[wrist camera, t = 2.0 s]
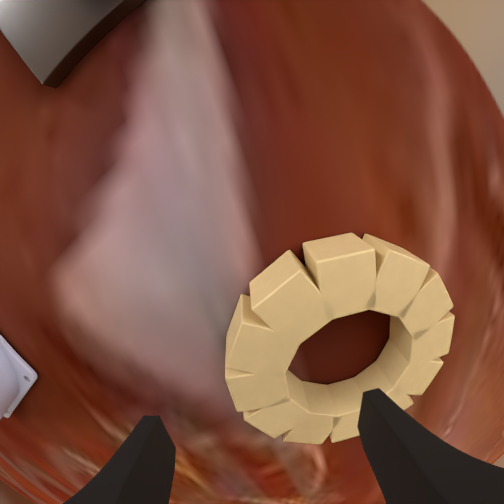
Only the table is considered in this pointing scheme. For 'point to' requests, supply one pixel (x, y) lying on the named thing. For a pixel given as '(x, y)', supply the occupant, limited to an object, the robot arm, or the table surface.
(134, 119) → the table surface
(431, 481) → the robot arm
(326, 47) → the table surface
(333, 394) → the yellow gear ring
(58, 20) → the stand
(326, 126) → the table surface
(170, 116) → the table surface
